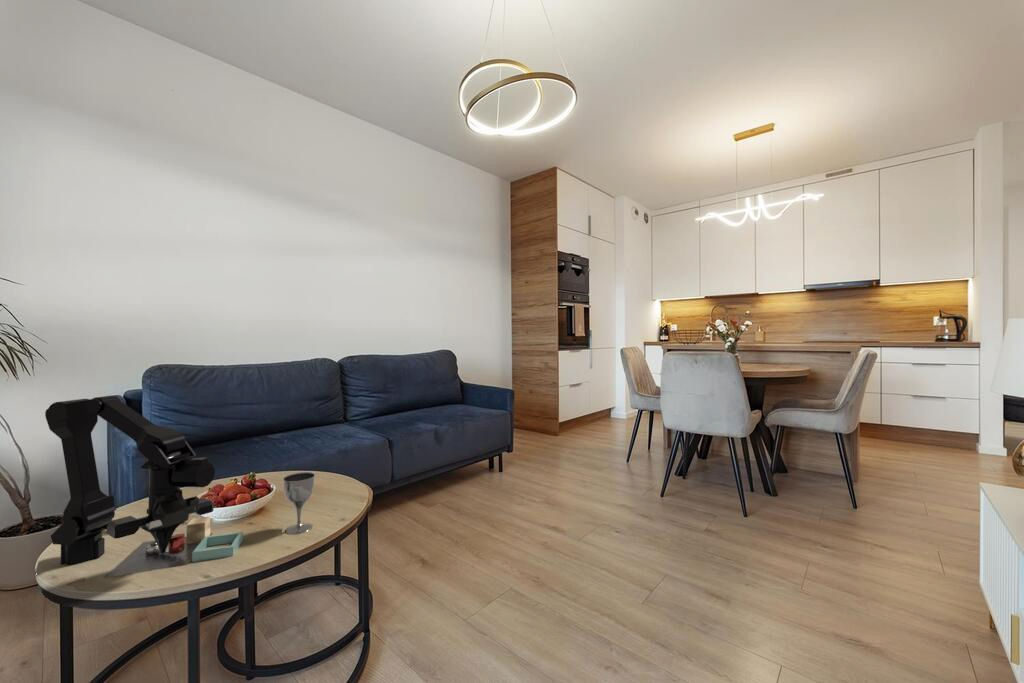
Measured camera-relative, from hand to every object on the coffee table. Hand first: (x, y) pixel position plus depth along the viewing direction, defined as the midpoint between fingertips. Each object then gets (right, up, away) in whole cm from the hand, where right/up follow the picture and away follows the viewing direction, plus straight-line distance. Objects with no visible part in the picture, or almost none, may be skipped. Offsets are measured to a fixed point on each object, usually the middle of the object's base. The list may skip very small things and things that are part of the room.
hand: (162, 552), depth 96 cm
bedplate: (-4, -3, +5) cm, 7 cm away
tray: (+9, -3, +6) cm, 11 cm away
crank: (-3, -2, +4) cm, 5 cm away
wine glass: (+22, -4, +20) cm, 30 cm away
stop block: (-1, -3, +12) cm, 12 cm away
